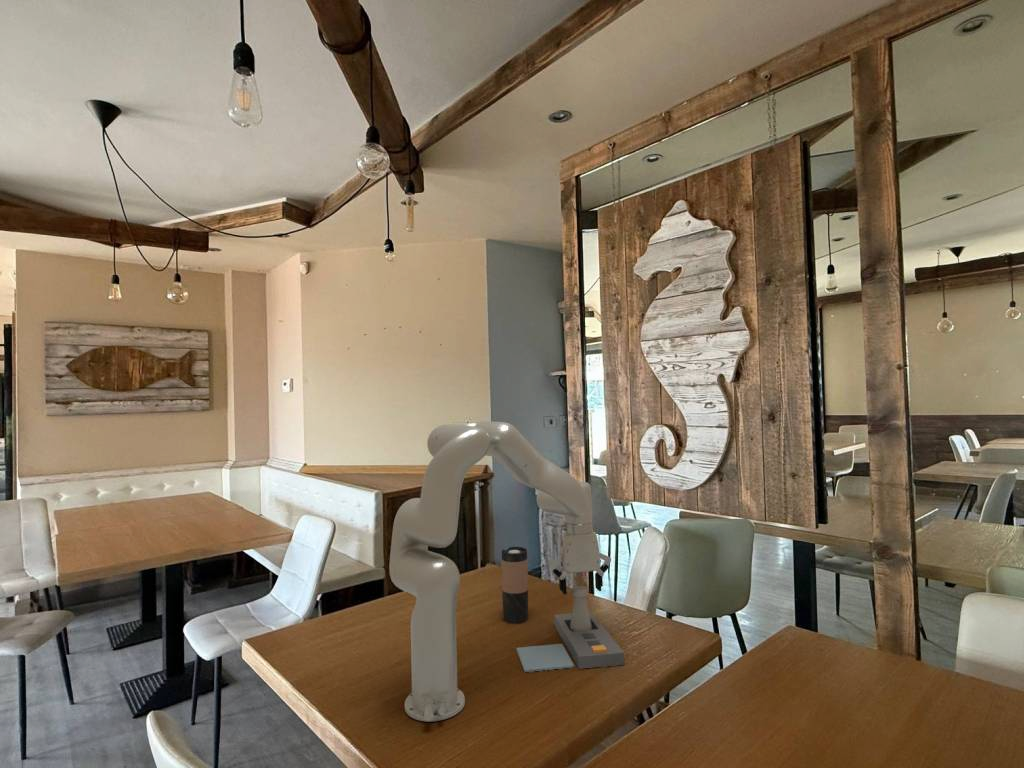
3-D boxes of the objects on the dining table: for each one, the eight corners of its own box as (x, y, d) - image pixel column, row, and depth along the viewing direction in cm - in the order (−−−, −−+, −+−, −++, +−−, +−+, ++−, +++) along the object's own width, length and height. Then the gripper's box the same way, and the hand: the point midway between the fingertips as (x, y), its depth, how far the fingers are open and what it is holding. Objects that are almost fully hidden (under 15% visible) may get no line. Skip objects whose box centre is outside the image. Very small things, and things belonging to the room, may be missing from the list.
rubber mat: (574, 668, 132) (574, 665, 132) (524, 672, 130) (524, 670, 130) (562, 646, 144) (562, 643, 144) (516, 650, 142) (516, 647, 142)
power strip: (623, 665, 133) (623, 649, 133) (579, 669, 131) (579, 653, 131) (592, 622, 159) (591, 608, 159) (554, 625, 157) (554, 612, 157)
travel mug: (528, 624, 158) (527, 553, 159) (502, 624, 159) (500, 553, 159) (528, 613, 166) (527, 546, 167) (503, 613, 166) (501, 546, 167)
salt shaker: (591, 641, 146) (589, 591, 147) (569, 639, 148) (568, 590, 148) (592, 631, 152) (591, 584, 153) (571, 630, 153) (570, 583, 154)
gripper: (550, 533, 146) (553, 599, 146) (613, 528, 148) (616, 593, 148) (544, 527, 153) (547, 589, 153) (605, 522, 156) (607, 583, 156)
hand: (581, 591), depth 151 cm, fingers open, 9 cm apart
